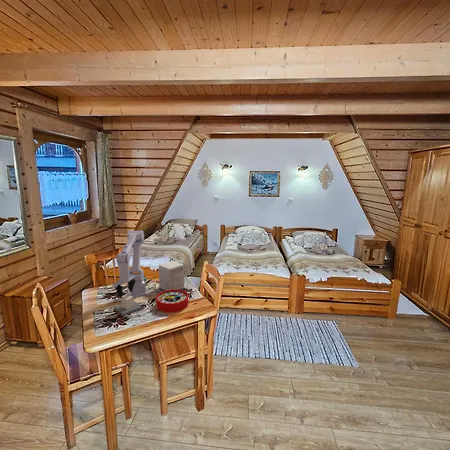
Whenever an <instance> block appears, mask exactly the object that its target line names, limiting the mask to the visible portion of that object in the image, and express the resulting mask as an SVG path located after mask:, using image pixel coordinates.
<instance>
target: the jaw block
mask: <svg viewBox="0 0 450 450" xmlns="http://www.w3.org/2000/svg"><path fill="white" fill-rule="evenodd" d="M134 302H135V301H134V298H133V296H130V295H129V294H127V295H125V296H122V297H120V304H121V308H125V309H129V308H131V307H133V306H134Z"/></svg>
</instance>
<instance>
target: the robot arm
mask: <svg viewBox="0 0 450 450" xmlns="http://www.w3.org/2000/svg"><path fill="white" fill-rule="evenodd" d="M126 238H127V241H126V244H124V245H123V246H122V249H121V251H120V253H118V254H117V255H116V259H115V260H116V264H117V266H118V276H119V279H118V280H117V281H115V282H114V283H113V287H114V289H115V291H116V292H117V295H118V297H120V298H122V297H123V288H124V286H122V285H124V284H125V283H127V285H128V291H129V293H128V295H129V296H133V299H134V298H138V297H141V296H144V295H146V294H147V289H146V288H147V287H146V286H147V285H146V281H145V282H144V281H143V279H144V278H145V277H144V270H143V269H142V268H141V267H140V265H141V250H142V249H141V248H142V244H143V243H144V242H145V233H144V230H128V231H127V232H126ZM131 255H132V256H131ZM131 257H132V264H131V268H130V261H131Z"/></svg>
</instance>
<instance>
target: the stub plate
mask: <svg viewBox="0 0 450 450" xmlns="http://www.w3.org/2000/svg"><path fill="white" fill-rule="evenodd" d="M113 309H114V311H116V312H117V313H118V314H119V315H121V316H122V317H125V316H127V315H131V314H133V313H136V312H139V311H140V310H142V309H143V306H141V305H140V304H139V303H137V302H136V301H134V306H133V307H131V308H129V309H125V308H121V303H120V304H118V305H115V306H113Z"/></svg>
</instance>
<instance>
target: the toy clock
mask: <svg viewBox="0 0 450 450" xmlns="http://www.w3.org/2000/svg"><path fill="white" fill-rule="evenodd" d="M155 304H156V305H155V306H156V309H157V310H158V311H159V312H162V313H169V314H171V313H178V312H182V311H183V310H185V309H187V308H188V306H189V293H188V292H187V291H185V290H181V289H178V290H167V291H166V290H163V291H161V292H159V293H158V294H157V295H156V297H155Z"/></svg>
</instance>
